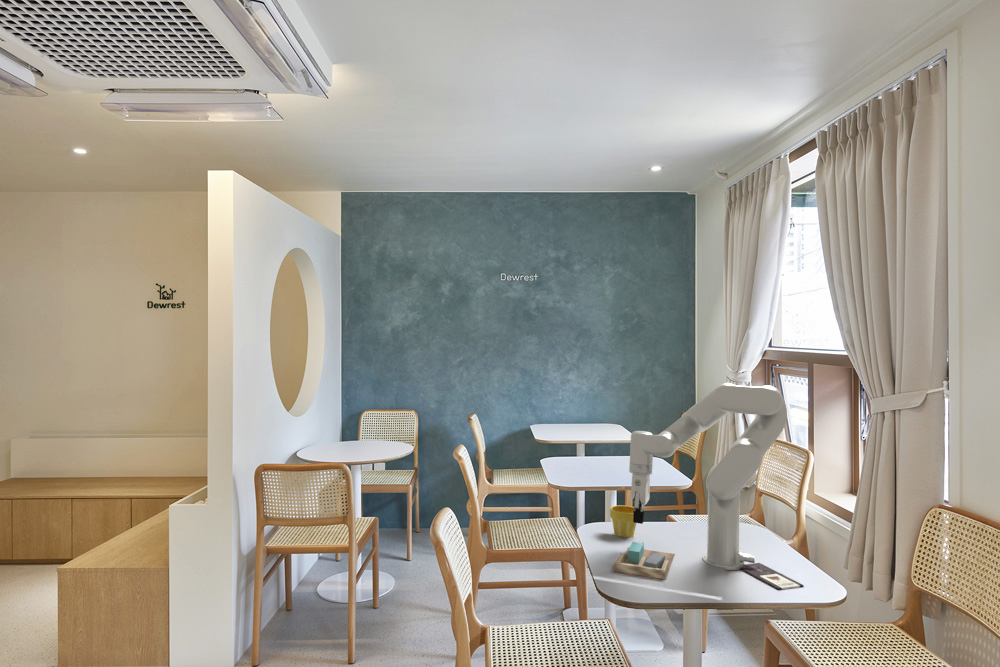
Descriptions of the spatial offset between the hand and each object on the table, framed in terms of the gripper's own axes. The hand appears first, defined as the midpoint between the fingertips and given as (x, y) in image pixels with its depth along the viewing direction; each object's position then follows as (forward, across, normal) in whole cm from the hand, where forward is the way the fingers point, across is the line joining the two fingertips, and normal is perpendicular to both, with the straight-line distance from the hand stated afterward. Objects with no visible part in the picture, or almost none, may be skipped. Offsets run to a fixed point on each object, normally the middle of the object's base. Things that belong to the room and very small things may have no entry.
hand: (638, 522), depth 201 cm
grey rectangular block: (+8, -18, -8) cm, 21 cm away
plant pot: (+10, +14, +7) cm, 18 cm away
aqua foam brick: (+9, -10, -1) cm, 13 cm away
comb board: (+9, -12, -5) cm, 16 cm away
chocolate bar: (+9, -6, -40) cm, 42 cm away
